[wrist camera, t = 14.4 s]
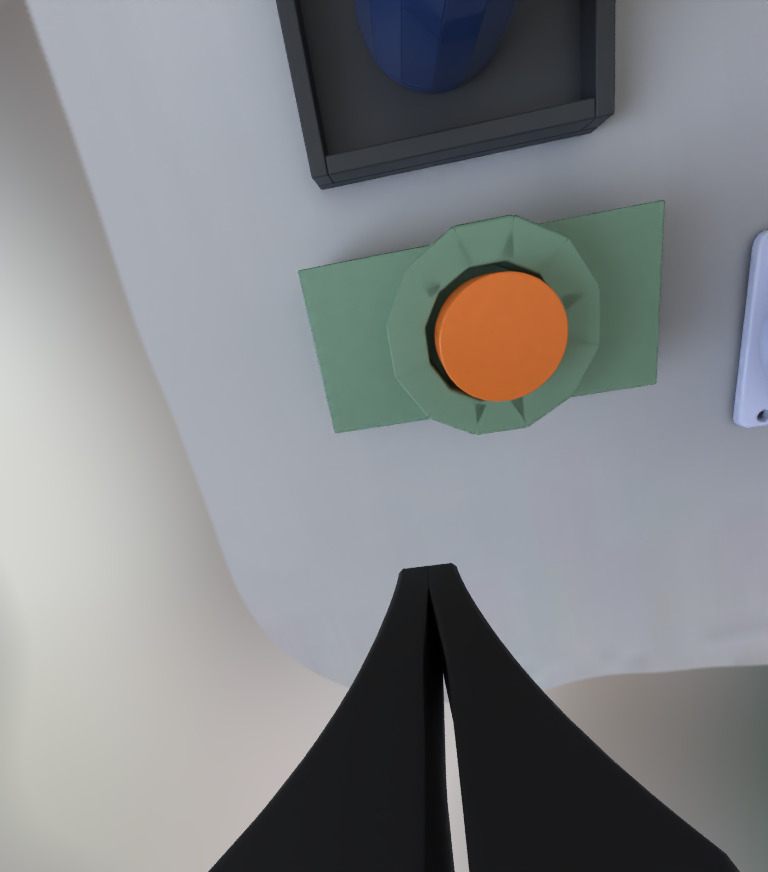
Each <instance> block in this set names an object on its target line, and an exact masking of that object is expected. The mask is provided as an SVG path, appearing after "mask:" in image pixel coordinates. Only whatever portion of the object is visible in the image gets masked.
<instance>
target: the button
mask: <svg viewBox="0 0 768 872" xmlns="http://www.w3.org/2000/svg"><path fill="white" fill-rule="evenodd" d="M434 338H435V346H436V351H437V354H438V357H439V359H440V361H441V363H442V365H443V367H444V368H445V370H446V372H447V374H448V375H449V377H450V378H451V380H452V381H453V382H454V383H455V384H456V385H457V386H458V387H459V388H460V389H462V390H463V391H464V392H466V393H468V394H469V395H471V396H474V397H476V398H479V399H482V400H487V401H509V400H513V399H517V398H520V397H523V396H525V395H527V394H529V393H531V392H533V391H534V390H536V389H537V388H539V387H540V386H541V385H542V384H544V383H545V382H546V381H547V380H548V379H549V378H550V377H551V375H552V374H553V373H554V372H555V370H556V369H557V367H558V365H559V364H560V362H561V360H562V358H563V355H564V353H565V349H566V346H567V340H568V320H567V315H566V311H565V309H564V306H563V304H562V302H561V300H560V298H559V297H558V295H557V294H556V293H555V291H554V290H553V289H552V288H551V287H550V286H549V285H548V284H546V283H545V282H543V281H542V280H541V279H539V278H537V277H535V276H533V275H530V274H526V273H523V272H517V271H503V272H495V273H488V274H483V275H479V276H476V277H474V278H471V279H469V280H468V281H466V282H464V283H463V284H461V285H460V286H459V287H457V288H456V289H455V290H454V291H453V292H452V293H451V294H450V295H449V297H448V298H447V299H446V301H445V302H444V304H443V305H442V307H441V309H440V312H439V314H438V317H437V320H436V325H435V334H434Z"/></svg>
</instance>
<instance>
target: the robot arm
mask: <svg viewBox="0 0 768 872" xmlns="http://www.w3.org/2000/svg"><path fill="white" fill-rule="evenodd" d="M761 411H763V413H762V415H761V416H760V417H759V418H757V416H758V414H759V413H760V412H761ZM733 420H734V422H735V423H736V424H737V425H739V426H742V427H744V428H752V427H759V426H766V425H768V229H767V230H765V231H762V232H761V233H760V234H758V235H757V237H756V238H755V240H754V242H753V245H752V253H751V262H750V271H749V280H748V289H747V298H746V307H745V316H744V325H743V334H742V342H741V351H740V360H739V369H738V378H737V387H736V396H735V405H734V414H733ZM443 674H444V679H445V684H446V689H447V694H448V698H449V703H450V708H451V713H452V718H453V722H454V730H455V740H456V749H457V758H458V767H459V777H460V786H461V796H462V805H463V813H464V824H465V834H466V843H467V852H468V862H469V872H740V871H739V870H738V869H737V867H736V866H735V865H734V864H733V862H732V861H731V860H730V858H729V857H728V856H727V854H726V853H724V852H723V851H722V850H721V849H719V848H718V847H717V846H715V845H714V844H713V843H712V842H710V841H709V840H708V839H707V838H705V837H704V836H703V835H702V834H700V833H699V832H698V831H696V830H695V829H694V828H693V827H691V826H690V825H689V824H687V823H686V822H685V821H684V820H683V819H681V818H680V817H679V816H678V815H676V814H675V813H674V812H673V811H672V810H670V809H669V808H668V807H667V806H666V805H664V804H663V803H662V802H661V801H659V800H658V799H657V798H656V797H655V796H654V795H652V794H651V793H650V792H649V791H648V790H647V789H645V788H644V787H643V786H642V785H641V784H639V783H638V782H637V781H636V780H635V779H634V778H633V777H632V776H630V775H629V774H628V773H627V772H626V771H625V770H623V769H622V768H621V767H620V766H619V765H618V764H617V763H615V762H614V761H613V760H612V759H611V758H610V757H609V756H608V755H607V754H606V753H605V752H604V751H603V750H602V749H601V748H600V747H599V746H597V745H596V744H595V743H594V742H593V741H592V740H591V739H590V738H589V737H588V736H587V735H586V734H585V733H584V732H583V731H582V730H581V729H580V728H578V727H577V726H576V725H575V724H574V723H573V722H572V721H571V720H570V719H569V718H568V717H567V716H566V715H565V714H564V713H563V712H562V711H561V710H560V709H559V708H558V707H557V706H556V705H555V703H554V702H553V701H552V700H551V699H550V698H549V697H548V696H547V695H546V694H545V693H544V692H543V691H542V690H541V688H540V687H539V686H538V685H537V684H536V683H535V682H534V681H533V680H532V678H531V677H530V676H529V675H528V674H527V673H526V671H525V670H524V669H523V668H522V667H521V666H520V664H519V663H518V662H517V661H516V659H515V658H514V657H513V656H512V654H511V653H510V652H509V651H508V649H507V648H506V647H505V645H504V644H503V643H502V642H501V640H500V639H499V638H498V636H497V635H496V634H495V632H494V631H493V629H492V628H491V627H490V625H489V624H488V622H487V621H486V619H485V618H484V616H483V615H482V613H481V612H480V610H479V609H478V607H477V606H476V604H475V602H474V601H473V599H472V597H471V596H470V594H469V592H468V590H467V589H466V587H465V585H464V583H463V581H462V579H461V577H460V574H459V572H458V569H457V567H456V566H455V565H454V564H452V563H449V564H441V565H432V566H424V567H416V568H408V569H403V570H402V571H401V572H400V573H399V577H398V581H397V585H396V588H395V591H394V594H393V597H392V600H391V603H390V605H389V608H388V611H387V613H386V616H385V618H384V620H383V623H382V625H381V628H380V630H379V632H378V635H377V637H376V639H375V641H374V643H373V645H372V647H371V649H370V651H369V653H368V655H367V657H366V659H365V661H364V663H363V665H362V667H361V669H360V671H359V673H358V675H357V677H356V678H355V680H354V682H353V684H352V686H351V687H350V689H349V691H348V692H347V694H346V696H345V697H344V699H343V701H342V702H341V704H340V706H339V707H338V709H337V710H336V712H335V714H334V715H333V717H332V718H331V720H330V721H329V723H328V724H327V726H326V727H325V729H324V730H323V732H322V733H321V735H320V736H319V738H318V739H317V741H316V742H315V743H314V745H313V746H312V748H311V749H310V750H309V752H308V753H307V754H306V756H305V757H304V759H303V760H302V761H301V763H300V764H299V765H298V766H297V768H296V769H295V770H294V772H293V773H292V774H291V775H290V777H289V778H288V779H287V780H286V782H285V783H284V784H283V786H282V787H281V788H280V789H279V791H278V792H277V793H276V795H275V796H274V797H273V799H272V800H271V801H270V802H269V803H268V805H267V806H266V807H265V808H264V809H263V811H262V812H261V813H260V814H259V815H258V817H257V818H256V819H255V820H254V821H253V822H252V823H251V825H250V826H249V827H248V828H247V829H246V830H245V831H244V832H243V834H242V835H241V836H240V837H239V838H238V839H237V840H236V841H235V842H234V844H233V845H232V846H231V847H230V848H229V849H228V850H227V851H226V853H225V854H224V855H223V856H222V857H221V858H220V859H219V861H218V862H217V863H216V864H215V865H214V866H213V867H212V868H211V869H210V870H209V872H455V871H454V862H453V853H452V842H451V832H450V822H449V813H448V803H447V789H446V765H445V725H444V689H443Z"/></svg>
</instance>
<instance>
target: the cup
mask: <svg viewBox="0 0 768 872" xmlns="http://www.w3.org/2000/svg"><path fill="white" fill-rule="evenodd" d="M523 1H524V0H354V3H355V10H356V16H357V22H358V25H359V28H360V31H361V35H362V38H363V40H364V43H365V45H366V47H367V49H368V51H369V53H370V55H371V56H372V58H373V60H374V61H375V62H376V64H377V65H378V66H379V67H380V69H381V70H382V71H383V72H384V73H385V74H386V75H387V76H388V77H389V78H391V79H392V80H393V81H395V82H396V83H398V84H399V85H401V86H403V87H405V88H407V89H410V90H413V91H416V92H422V93H442V92H447V91H450V90H454V89H456V88H459V87H461V86H463V85H465V84H467V83H468V82H470V81H471V80H473V79H474V78H475V77H477V76H478V75H479V74H480V73H481V72H482V71H483V70H484V69H485V68H486V67H487V66H488V65H489V64H490V63H491V62H492V60H493V59H494V57H495V56H496V55H497V53H498V52H499V50H500V48H501V46H502V45H503V43H504V41H505V39H506V37H507V35H508V33H509V32H510V30H511V28H512V26H513V24H514V22H515V19H516V17H517V15H518V13H519V10H520V8H521V6H522V3H523Z"/></svg>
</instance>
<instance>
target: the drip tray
mask: <svg viewBox="0 0 768 872" xmlns="http://www.w3.org/2000/svg"><path fill="white" fill-rule="evenodd" d="M276 3H277V8H278V13H279V18H280V23H281V28H282V33H283V38H284V43H285V48H286V53H287V58H288V62H289V67H290V72H291V77H292V82H293V87H294V92H295V97H296V102H297V107H298V112H299V117H300V122H301V127H302V132H303V137H304V141H305V146H306V151H307V156H308V161H309V166H310V171H311V176H312V178H313V180H314V181H315V182H316V183H317V185H318V186H319V187H320V189H327V188H332V187H337V186H341V185H346V184H351V183H356V182H360V181H365V180H370V179H375V178H379V177H384V176H389V175H393V174H398V173H403V172H408V171H412V170H417V169H422V168H427V167H431V166H436V165H441V164H446V163H450V162H455V161H460V160H465V159H469V158H474V157H479V156H483V155H488V154H493V153H498V152H502V151H507V150H512V149H517V148H521V147H526V146H531V145H536V144H540V143H545V142H550V141H555V140H559V139H564V138H569V137H573V136H578V135H583V134H588V133H591V132H592V131H594V130H595V129H596V128H597V127H598V126H599V125H601V124H602V123H603V122H604V121H606V120H607V119H608V118H609V117H611V116H612V115H613V114H614V95H615V0H524V1H523V3H522V6H521V8H520V10H519V13H518V15H517V17H516V19H515V22H514V24H513V26H512V28H511V30H510V32H509V33H508V35H507V37H506V39H505V41H504V43H503V45H502V46H501V48H500V50H499V52H498V53H497V55H496V56H495V57H494V59H493V60H492V62H491V63H490V64H489V65H488V66H487V67H486V68H485V69H484V70H483V71H482V72H481V73H480V74H479V75H478V76H477V77H475V78H474V79H473V80H471V81H470V82H468V83H467V84H465V85H463V86H461V87H459V88H456V89H454V90H450V91H447V92H442V93H422V92H416V91H413V90H410V89H407V88H405V87H403V86H401V85H399V84H398V83H396V82H395V81H393V80H392V79H391V78H389V77H388V76H387V75H386V74H385V73H384V72H383V71H382V70H381V69H380V67H379V66H378V65H377V64H376V62H375V61H374V60H373V58H372V56H371V55H370V53H369V51H368V49H367V47H366V45H365V43H364V40H363V38H362V35H361V31H360V28H359V25H358V22H357V16H356V10H355V3H354V0H276Z"/></svg>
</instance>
